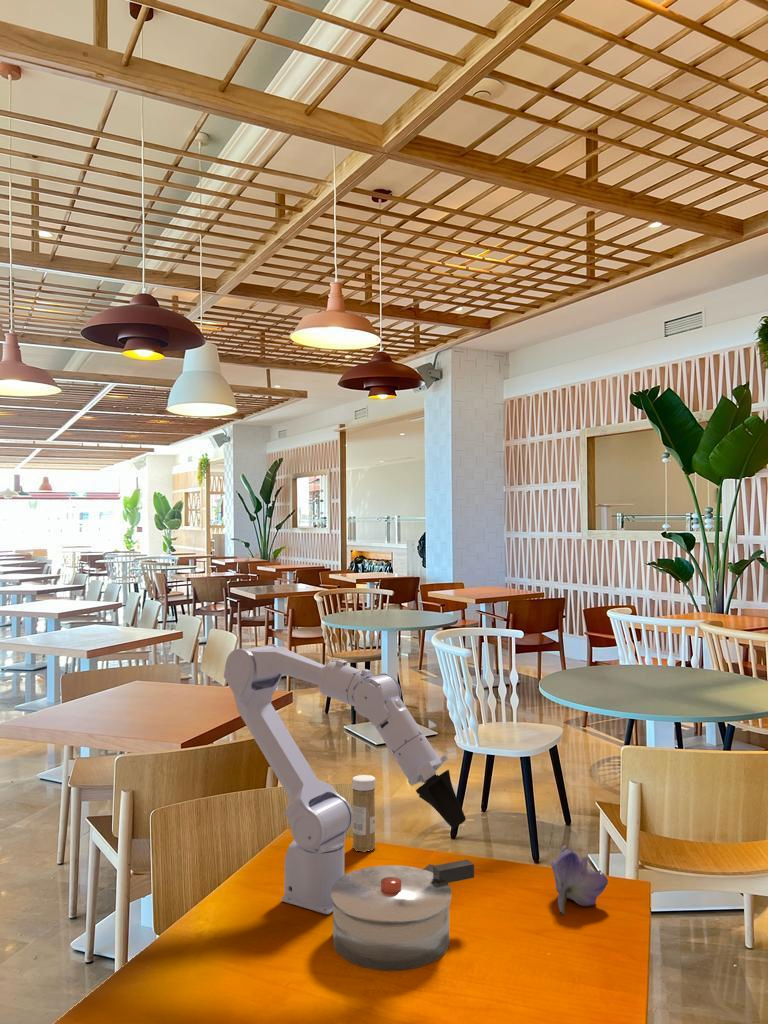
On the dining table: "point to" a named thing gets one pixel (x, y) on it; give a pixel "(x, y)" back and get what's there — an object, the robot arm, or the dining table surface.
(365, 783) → the sprinkles bottle
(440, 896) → the cooker lid
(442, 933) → the cooker pot
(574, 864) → the flower
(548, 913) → the dining table surface
